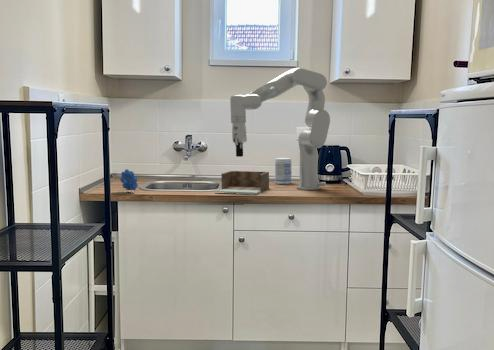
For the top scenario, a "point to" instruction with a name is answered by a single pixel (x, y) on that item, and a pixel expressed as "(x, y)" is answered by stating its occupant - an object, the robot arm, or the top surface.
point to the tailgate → (240, 191)
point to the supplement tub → (283, 170)
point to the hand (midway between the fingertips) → (239, 156)
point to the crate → (245, 180)
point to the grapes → (129, 180)
